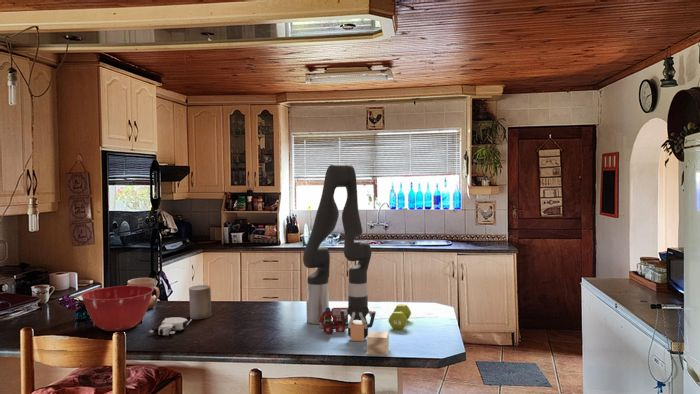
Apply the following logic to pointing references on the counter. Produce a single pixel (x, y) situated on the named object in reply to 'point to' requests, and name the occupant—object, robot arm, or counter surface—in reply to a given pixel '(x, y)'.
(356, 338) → the terracotta block
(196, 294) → the pillar candle
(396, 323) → the dumbbell
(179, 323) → the robot toy
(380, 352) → the maple base block
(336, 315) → the toy fire truck
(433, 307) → the counter surface
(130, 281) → the ceramic jug
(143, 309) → the mixing bowl
